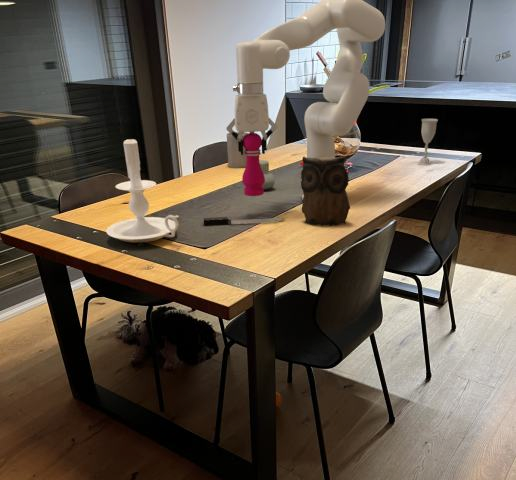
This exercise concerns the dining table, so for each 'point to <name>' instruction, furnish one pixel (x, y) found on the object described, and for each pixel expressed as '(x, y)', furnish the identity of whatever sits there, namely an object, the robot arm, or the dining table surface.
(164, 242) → the dining table surface
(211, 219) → the knife
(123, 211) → the dining table surface
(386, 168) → the dining table surface
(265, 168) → the air freshener
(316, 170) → the owl
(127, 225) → the candlestick
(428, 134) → the chalice
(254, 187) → the pepper mill
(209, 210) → the dining table surface
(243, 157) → the pillar candle
